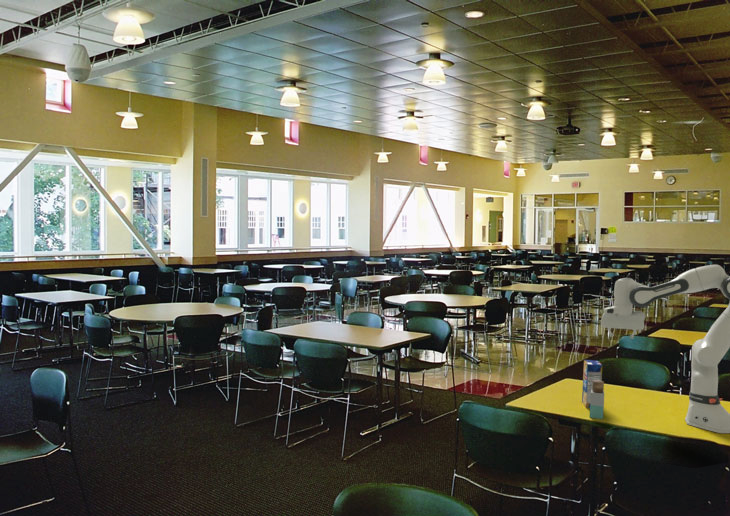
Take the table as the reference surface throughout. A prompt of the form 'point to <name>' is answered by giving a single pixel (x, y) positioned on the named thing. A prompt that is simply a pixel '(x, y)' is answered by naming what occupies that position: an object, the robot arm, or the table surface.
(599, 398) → the tower top
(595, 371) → the beverage box
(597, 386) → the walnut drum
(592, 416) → the tower base
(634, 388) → the table surface
